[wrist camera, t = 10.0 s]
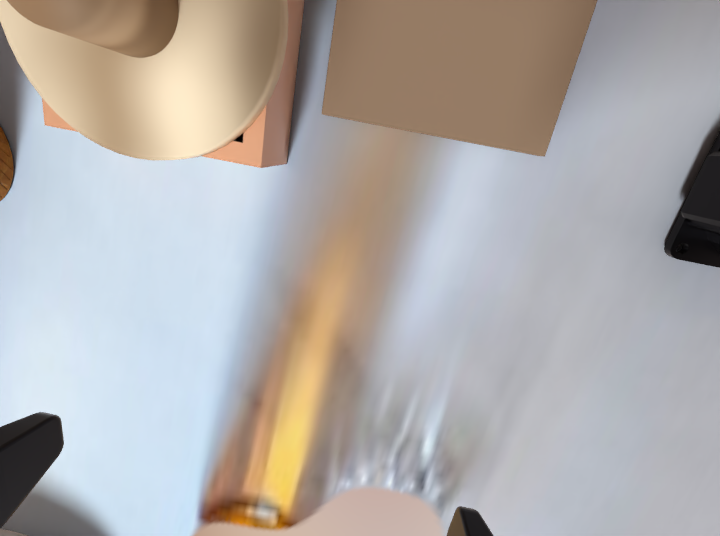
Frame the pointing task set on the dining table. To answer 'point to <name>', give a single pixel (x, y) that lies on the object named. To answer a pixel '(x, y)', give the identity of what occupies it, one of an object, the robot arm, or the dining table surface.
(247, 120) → the lid
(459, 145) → the dining table surface
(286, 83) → the dish
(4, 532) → the lumpy-topped squat cylinder
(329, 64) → the mat
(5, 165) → the disposable coffee cup
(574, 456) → the dining table surface
